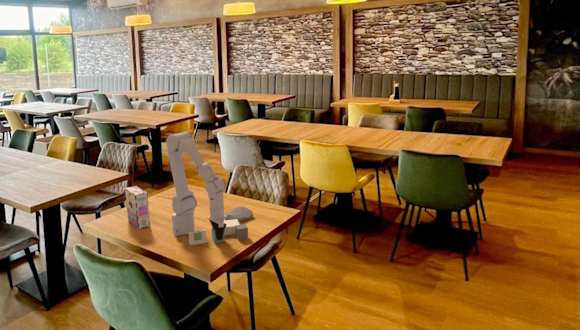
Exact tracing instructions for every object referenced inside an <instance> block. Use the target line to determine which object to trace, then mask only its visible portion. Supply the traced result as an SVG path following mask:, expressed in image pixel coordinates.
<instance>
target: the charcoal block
mask: <svg viewBox="0 0 580 330" xmlns="http://www.w3.org/2000/svg"><path fill="white" fill-rule="evenodd" d="M234 235H235V238H236V240H238V241H243V240H248V239H249V227H248V226H247V225H246V224H245V223H244V224H240V225H235V234H234Z"/></svg>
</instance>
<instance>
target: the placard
mask: <svg viewBox="0 0 580 330" xmlns="http://www.w3.org/2000/svg"><path fill="white" fill-rule="evenodd" d="M207 243H208V241H207V229H203V230H196V231H195V232H189V234H188V244H189V246H194V245H201V244H207Z"/></svg>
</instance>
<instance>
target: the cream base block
mask: <svg viewBox="0 0 580 330" xmlns="http://www.w3.org/2000/svg"><path fill="white" fill-rule="evenodd" d="M225 223H226V228H225V230H224V235H225V236H231V235H235V225H241V224H240V222H238V220H237V219H234V220H225V219H224V224H225Z"/></svg>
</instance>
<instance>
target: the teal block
mask: <svg viewBox="0 0 580 330" xmlns="http://www.w3.org/2000/svg"><path fill="white" fill-rule="evenodd" d="M225 236H226V235H224V233H223V238H222V240H217V238H216V233H215V230H214V228H211V239H212V242H213V243H214V244H218V243H225V242H226V239H225V238H226V237H225Z"/></svg>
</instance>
